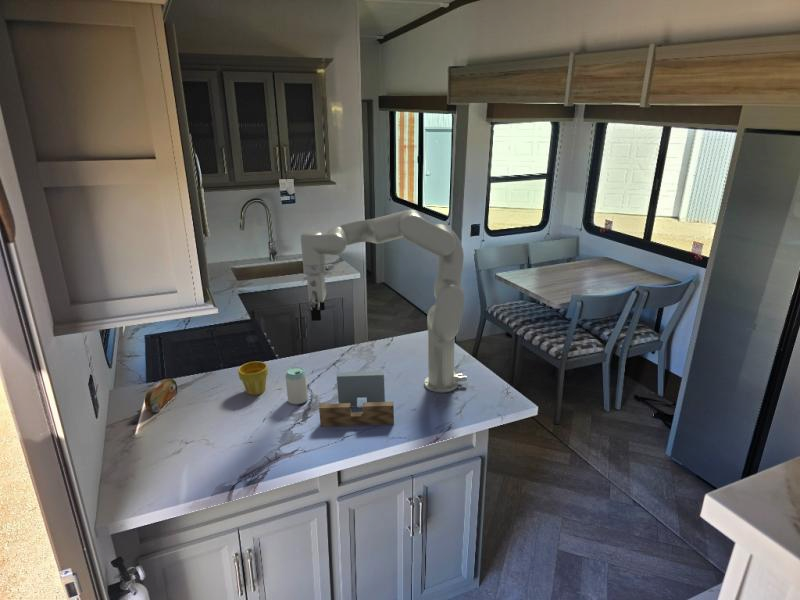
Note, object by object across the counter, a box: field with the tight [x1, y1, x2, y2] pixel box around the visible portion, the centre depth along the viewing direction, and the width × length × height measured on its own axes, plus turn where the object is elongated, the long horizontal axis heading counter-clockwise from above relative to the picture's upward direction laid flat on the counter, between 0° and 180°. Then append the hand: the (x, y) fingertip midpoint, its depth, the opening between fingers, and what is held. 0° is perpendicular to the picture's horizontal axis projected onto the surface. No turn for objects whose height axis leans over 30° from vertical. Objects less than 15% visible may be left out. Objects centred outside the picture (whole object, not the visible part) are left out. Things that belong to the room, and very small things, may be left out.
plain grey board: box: [336, 370, 386, 408], centre depth 182 cm, size 16×3×12 cm, turn 91°
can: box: [285, 366, 309, 405], centre depth 185 cm, size 7×7×12 cm
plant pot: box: [237, 360, 269, 396], centre depth 193 cm, size 10×10×10 cm
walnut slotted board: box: [318, 401, 395, 428], centre depth 171 cm, size 24×2×7 cm, turn 91°
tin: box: [144, 378, 178, 413], centre depth 185 cm, size 15×3×8 cm, turn 168°
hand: (318, 315), depth 183 cm, fingers open, 9 cm apart
